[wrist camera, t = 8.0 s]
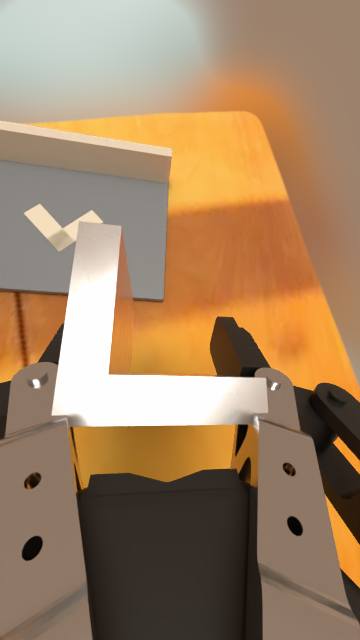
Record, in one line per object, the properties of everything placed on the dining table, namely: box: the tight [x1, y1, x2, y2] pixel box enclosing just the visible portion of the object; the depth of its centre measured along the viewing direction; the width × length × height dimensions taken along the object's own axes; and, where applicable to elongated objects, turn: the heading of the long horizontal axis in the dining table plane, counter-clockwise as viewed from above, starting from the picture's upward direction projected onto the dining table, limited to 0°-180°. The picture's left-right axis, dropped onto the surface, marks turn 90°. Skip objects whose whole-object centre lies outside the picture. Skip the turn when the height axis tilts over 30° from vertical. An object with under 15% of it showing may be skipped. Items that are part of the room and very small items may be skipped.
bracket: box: [51, 221, 268, 427], centre depth 11 cm, size 6×6×9 cm
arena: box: [0, 121, 172, 302], centre depth 26 cm, size 24×18×5 cm
